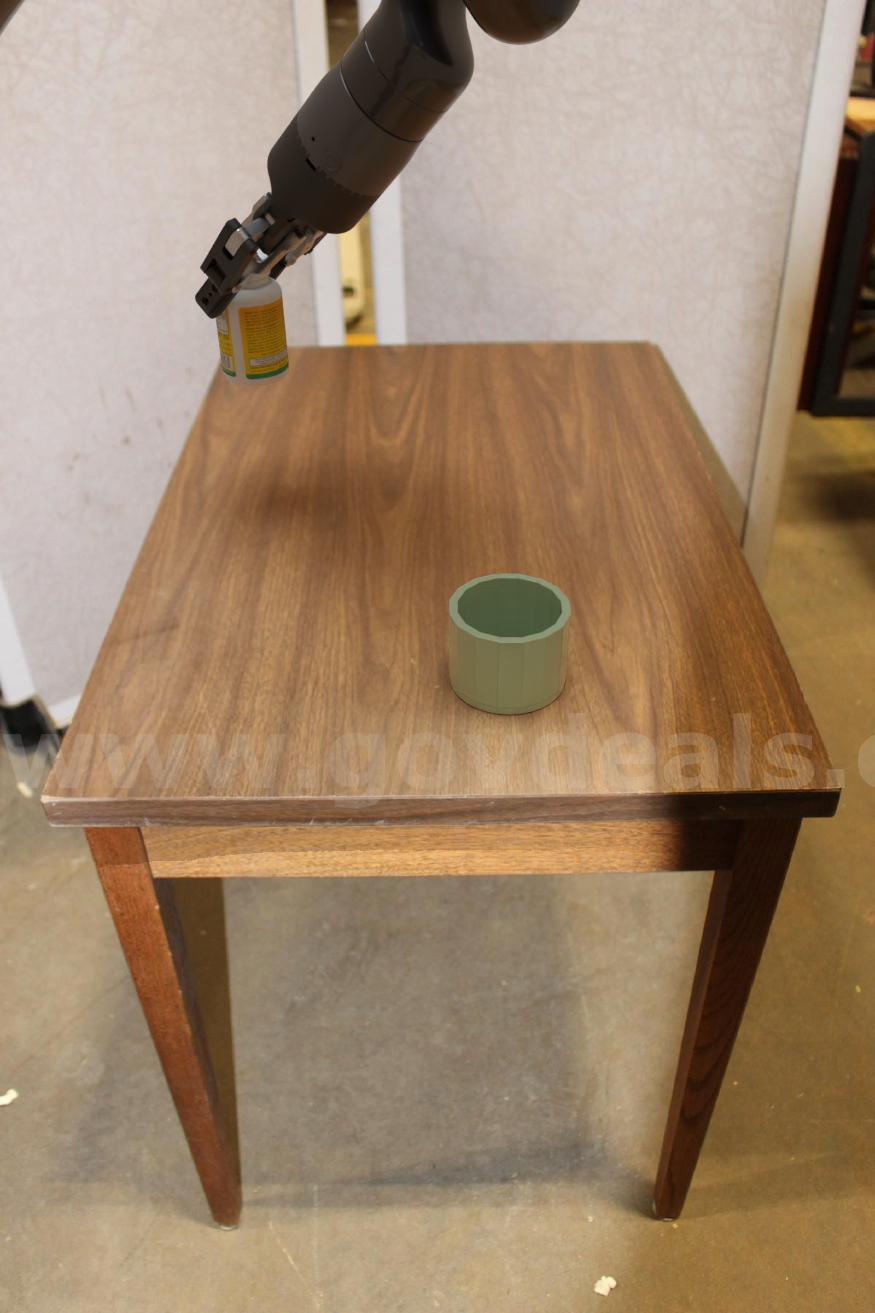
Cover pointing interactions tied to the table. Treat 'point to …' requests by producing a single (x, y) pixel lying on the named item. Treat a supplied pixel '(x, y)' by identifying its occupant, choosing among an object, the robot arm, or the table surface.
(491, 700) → the holder
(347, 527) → the table surface
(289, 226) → the robot arm
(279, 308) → the supplement bottle
